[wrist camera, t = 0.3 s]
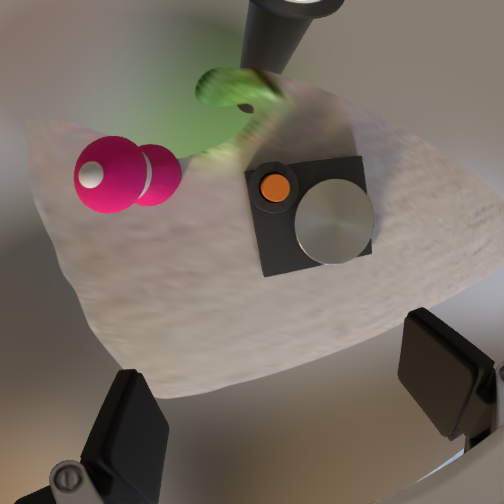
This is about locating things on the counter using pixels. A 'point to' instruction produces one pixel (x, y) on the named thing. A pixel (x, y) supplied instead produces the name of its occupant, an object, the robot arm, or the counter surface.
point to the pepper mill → (125, 174)
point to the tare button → (275, 187)
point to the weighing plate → (333, 221)
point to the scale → (293, 209)
